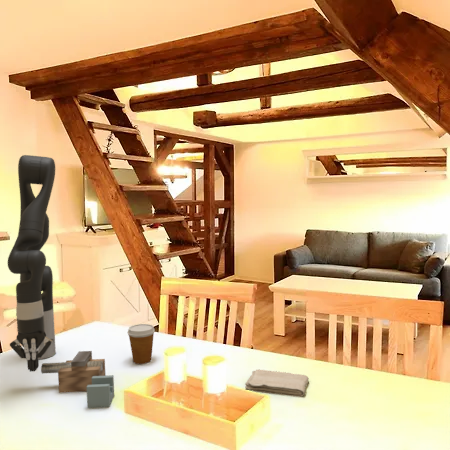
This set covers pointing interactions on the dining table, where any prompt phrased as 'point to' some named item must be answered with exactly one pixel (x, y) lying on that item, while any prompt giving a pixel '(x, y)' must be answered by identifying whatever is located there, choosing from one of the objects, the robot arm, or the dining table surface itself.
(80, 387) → the walnut bearing block
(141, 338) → the disposable coffee cup
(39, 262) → the robot arm
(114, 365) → the dining table surface
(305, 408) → the dining table surface
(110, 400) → the slate V-block
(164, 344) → the dining table surface
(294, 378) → the washcloth
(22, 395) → the dining table surface
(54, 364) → the steel axle
